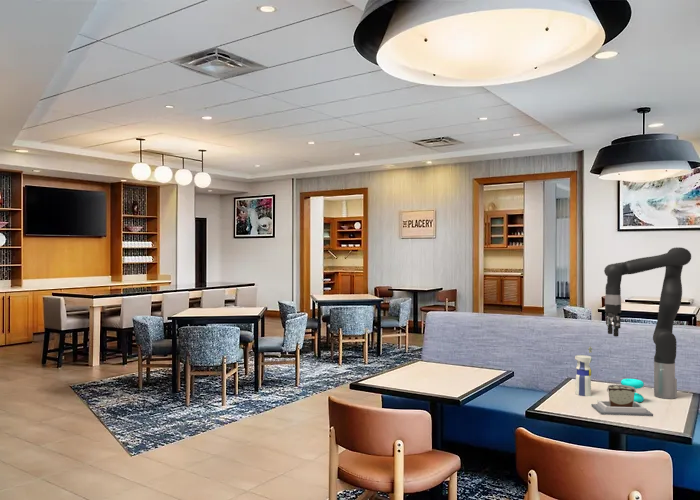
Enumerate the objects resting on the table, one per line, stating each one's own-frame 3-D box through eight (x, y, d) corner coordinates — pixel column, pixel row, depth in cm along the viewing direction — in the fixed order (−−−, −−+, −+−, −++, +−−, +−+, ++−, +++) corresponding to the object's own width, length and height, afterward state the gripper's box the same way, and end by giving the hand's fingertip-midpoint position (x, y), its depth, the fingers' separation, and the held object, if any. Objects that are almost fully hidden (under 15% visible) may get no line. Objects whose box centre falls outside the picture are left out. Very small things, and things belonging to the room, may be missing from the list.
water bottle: (593, 393, 291) (593, 344, 292) (590, 397, 284) (590, 347, 284) (576, 391, 296) (576, 343, 296) (573, 394, 289) (573, 345, 289)
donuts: (648, 381, 275) (632, 383, 272) (648, 402, 275) (632, 404, 271) (632, 377, 284) (616, 378, 281) (632, 397, 284) (616, 399, 281)
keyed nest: (640, 407, 265) (640, 401, 265) (653, 416, 251) (653, 409, 251) (591, 406, 267) (591, 399, 267) (601, 414, 254) (601, 407, 254)
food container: (631, 406, 263) (631, 384, 263) (636, 410, 257) (636, 388, 257) (603, 405, 265) (603, 383, 265) (607, 408, 259) (607, 386, 259)
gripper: (600, 302, 298) (600, 333, 298) (610, 304, 284) (610, 337, 284) (615, 302, 297) (615, 333, 297) (625, 304, 283) (625, 337, 283)
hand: (613, 335), depth 290 cm, fingers open, 8 cm apart
